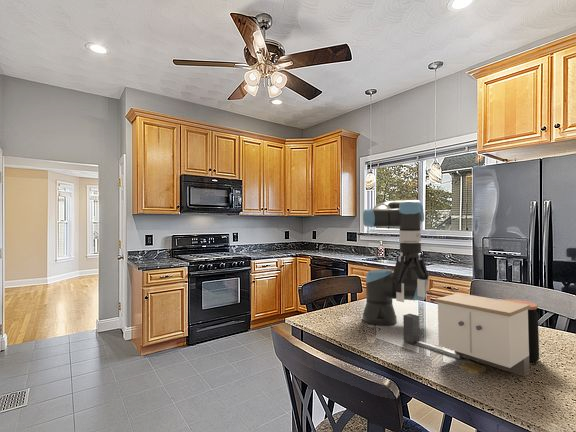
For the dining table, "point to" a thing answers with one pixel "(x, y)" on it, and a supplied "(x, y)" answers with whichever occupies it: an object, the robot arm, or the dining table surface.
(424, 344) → the grey post with bar
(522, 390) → the dining table surface
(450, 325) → the toe-kick cabinet
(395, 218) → the robot arm
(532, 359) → the coffee jar
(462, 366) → the brass block
